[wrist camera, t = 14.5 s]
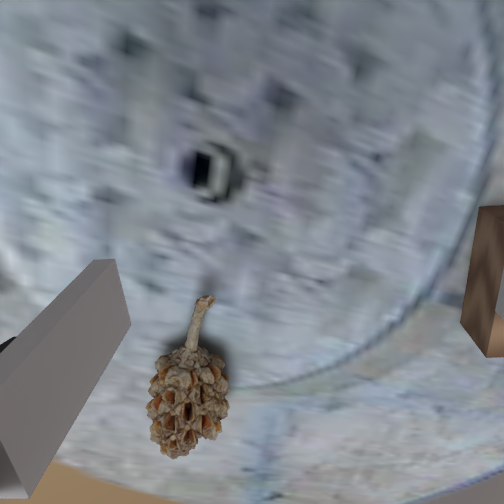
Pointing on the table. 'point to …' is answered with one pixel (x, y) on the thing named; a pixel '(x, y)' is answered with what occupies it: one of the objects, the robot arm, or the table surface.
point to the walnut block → (486, 283)
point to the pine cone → (188, 392)
